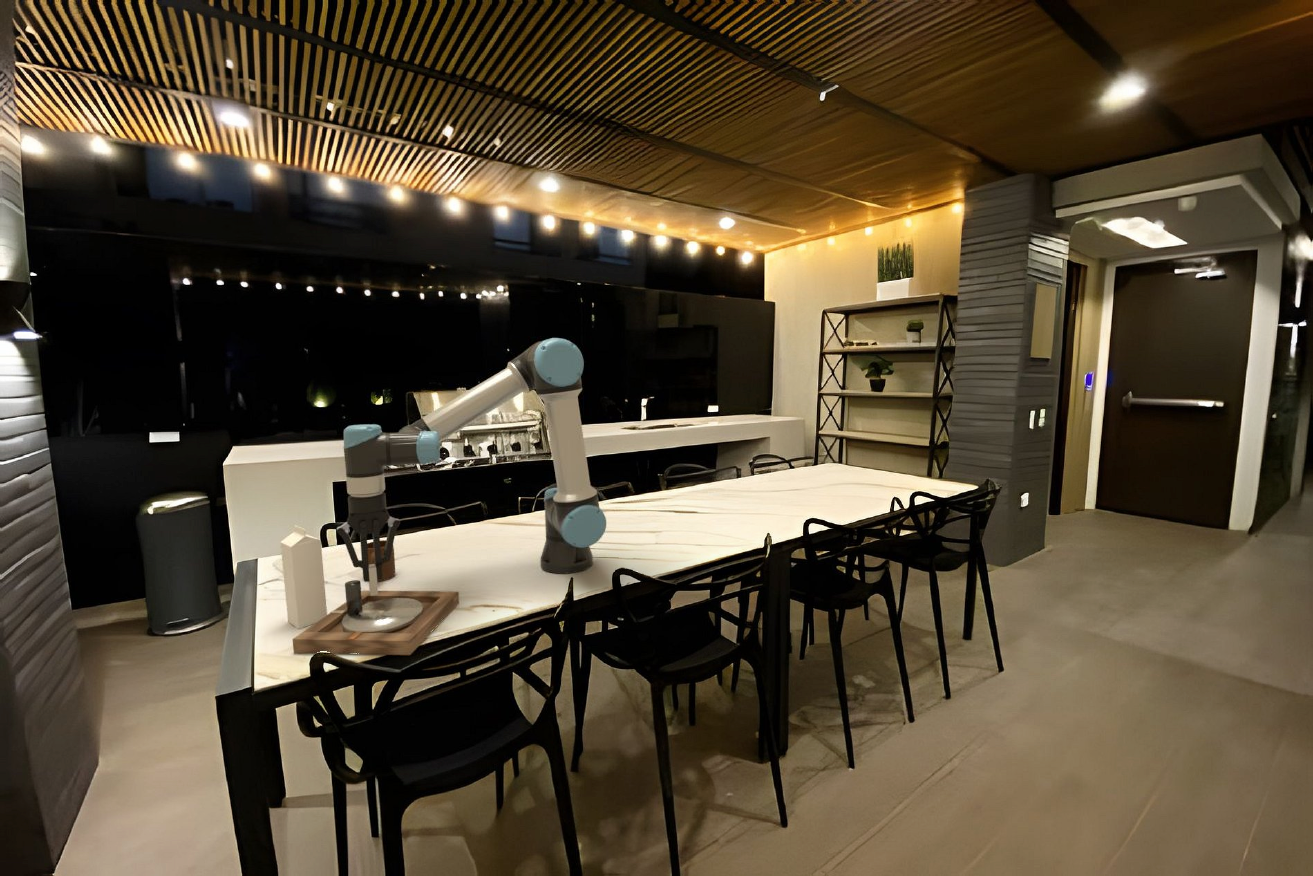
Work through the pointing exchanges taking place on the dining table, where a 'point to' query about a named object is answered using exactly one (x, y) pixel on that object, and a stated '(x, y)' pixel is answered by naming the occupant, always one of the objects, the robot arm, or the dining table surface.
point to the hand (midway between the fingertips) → (373, 593)
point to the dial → (377, 612)
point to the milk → (303, 578)
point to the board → (398, 642)
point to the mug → (387, 567)
